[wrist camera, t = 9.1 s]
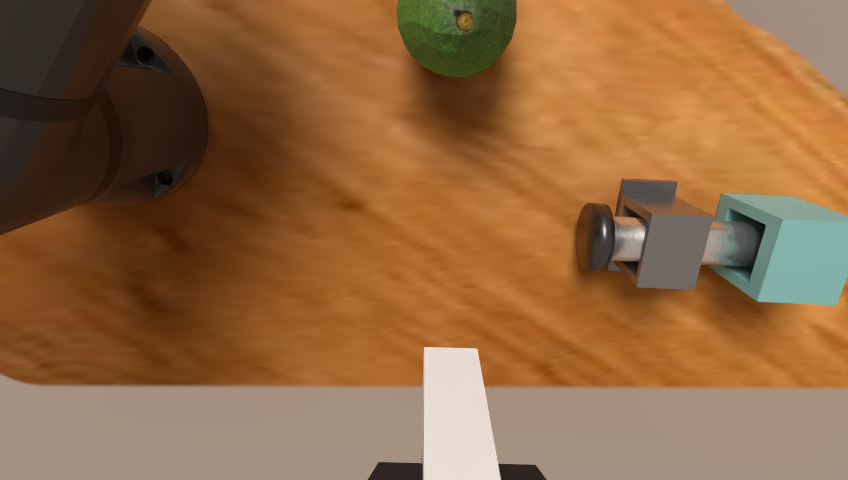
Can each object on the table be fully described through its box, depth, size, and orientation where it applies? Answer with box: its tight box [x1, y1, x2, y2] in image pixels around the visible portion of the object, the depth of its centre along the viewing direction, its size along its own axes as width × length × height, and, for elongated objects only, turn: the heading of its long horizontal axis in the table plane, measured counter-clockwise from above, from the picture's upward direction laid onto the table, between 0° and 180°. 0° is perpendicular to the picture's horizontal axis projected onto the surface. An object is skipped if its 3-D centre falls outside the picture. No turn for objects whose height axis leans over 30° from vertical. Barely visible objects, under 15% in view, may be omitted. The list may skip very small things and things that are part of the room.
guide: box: [607, 179, 713, 290], centre depth 38 cm, size 4×8×7 cm, turn 178°
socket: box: [707, 193, 848, 305], centre depth 38 cm, size 6×7×8 cm
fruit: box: [397, 0, 516, 77], centre depth 30 cm, size 8×8×12 cm
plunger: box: [576, 203, 766, 272], centre depth 38 cm, size 17×6×6 cm, turn 88°
